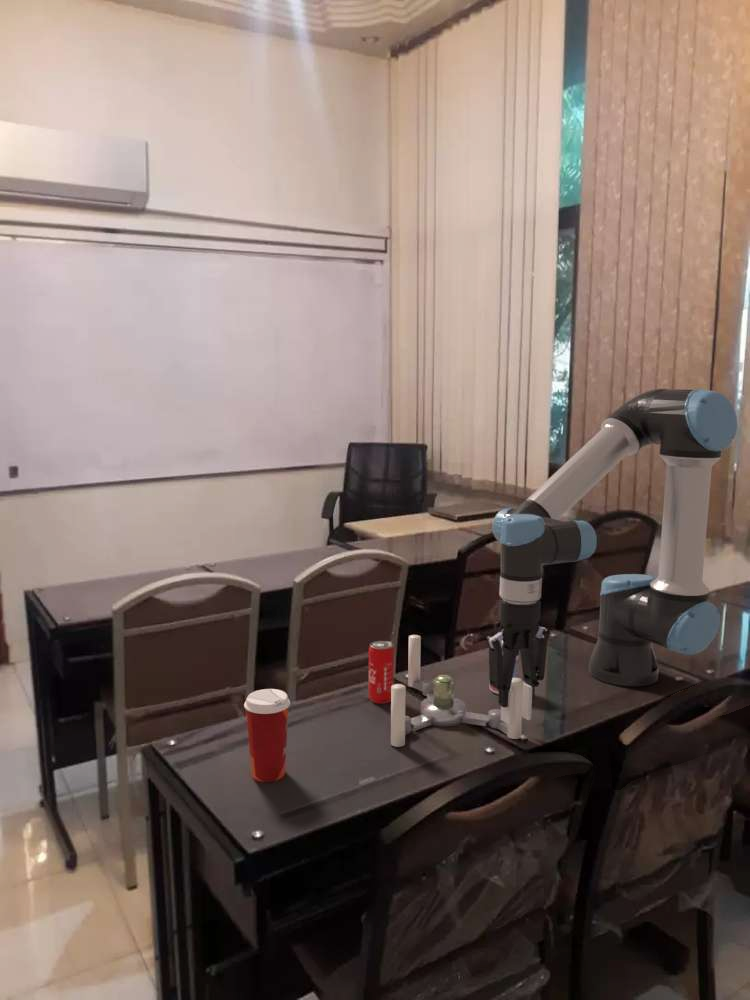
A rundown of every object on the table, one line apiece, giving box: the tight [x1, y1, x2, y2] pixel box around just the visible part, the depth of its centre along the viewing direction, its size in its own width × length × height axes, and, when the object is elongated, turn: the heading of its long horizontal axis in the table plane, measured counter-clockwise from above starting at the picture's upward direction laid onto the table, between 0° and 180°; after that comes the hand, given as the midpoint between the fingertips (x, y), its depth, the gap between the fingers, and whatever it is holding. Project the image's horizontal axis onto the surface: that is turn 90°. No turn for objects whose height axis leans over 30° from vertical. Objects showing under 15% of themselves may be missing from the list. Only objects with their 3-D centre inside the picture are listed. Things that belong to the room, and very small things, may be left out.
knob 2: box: [487, 677, 524, 740], centre depth 150 cm, size 9×4×11 cm, turn 25°
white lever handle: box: [407, 634, 434, 697], centre depth 168 cm, size 9×4×11 cm, turn 39°
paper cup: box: [243, 688, 291, 783], centre depth 133 cm, size 8×8×14 cm
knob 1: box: [390, 683, 412, 748], centre depth 147 cm, size 9×4×11 cm, turn 171°
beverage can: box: [368, 640, 395, 704], centre depth 164 cm, size 5×5×12 cm
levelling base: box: [410, 674, 489, 732], centre depth 158 cm, size 17×14×8 cm
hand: (515, 719), depth 147 cm, fingers open, 4 cm apart
